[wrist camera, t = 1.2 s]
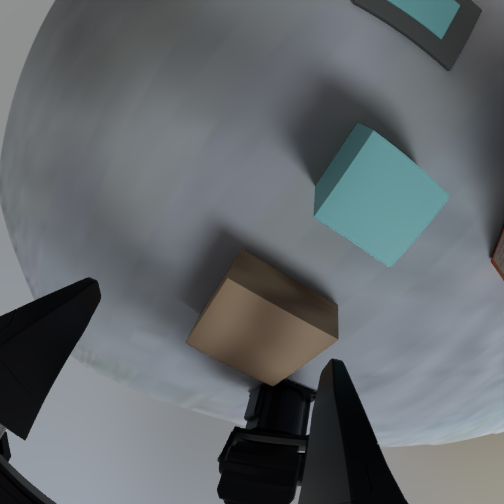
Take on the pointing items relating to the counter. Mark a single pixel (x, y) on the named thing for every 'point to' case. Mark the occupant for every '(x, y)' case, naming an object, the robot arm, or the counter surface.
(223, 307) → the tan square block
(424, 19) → the tile
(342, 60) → the counter surface
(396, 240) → the teal cube
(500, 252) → the cracker box
